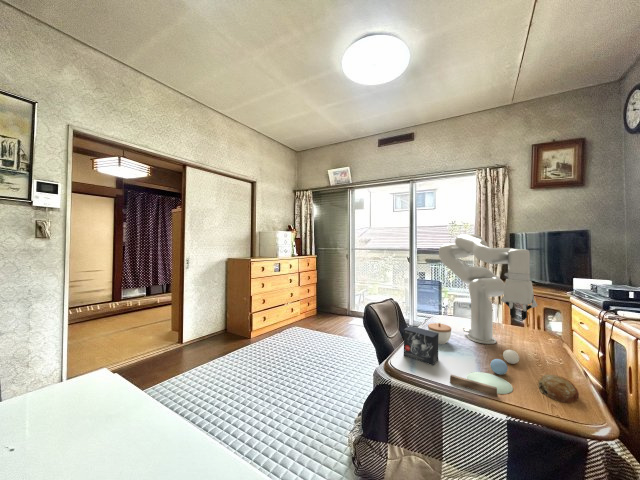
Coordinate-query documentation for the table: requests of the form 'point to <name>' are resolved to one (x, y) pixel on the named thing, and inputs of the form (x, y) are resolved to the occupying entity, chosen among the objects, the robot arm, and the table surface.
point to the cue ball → (511, 356)
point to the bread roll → (558, 388)
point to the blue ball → (499, 366)
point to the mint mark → (491, 381)
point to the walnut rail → (473, 385)
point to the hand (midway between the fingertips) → (518, 318)
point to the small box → (421, 344)
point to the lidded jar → (441, 332)
